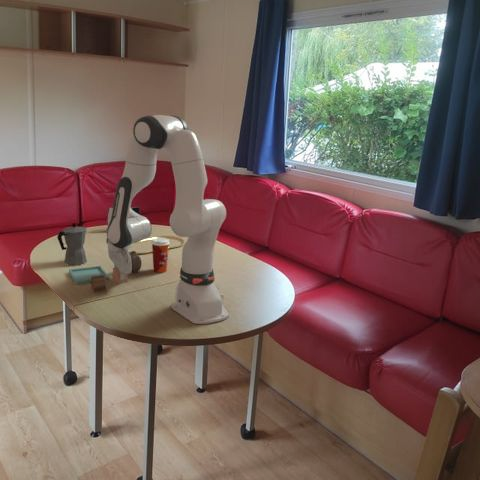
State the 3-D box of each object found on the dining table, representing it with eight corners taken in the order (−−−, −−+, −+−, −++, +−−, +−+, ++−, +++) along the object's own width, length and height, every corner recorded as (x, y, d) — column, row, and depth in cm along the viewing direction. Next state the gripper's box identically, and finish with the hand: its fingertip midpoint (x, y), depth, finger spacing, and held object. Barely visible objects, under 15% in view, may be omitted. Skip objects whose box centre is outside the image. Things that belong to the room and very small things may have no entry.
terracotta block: (127, 281, 194) (127, 270, 193) (116, 283, 192) (116, 271, 191) (123, 277, 198) (123, 266, 197) (113, 279, 196) (112, 267, 194)
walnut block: (106, 291, 185) (106, 279, 183) (94, 292, 183) (94, 280, 181) (103, 286, 188) (102, 274, 187) (91, 288, 186) (91, 276, 185)
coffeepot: (79, 256, 219) (78, 218, 214) (94, 260, 215) (93, 221, 209) (51, 265, 206) (49, 224, 201) (67, 270, 202) (65, 229, 196)
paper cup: (165, 274, 204) (166, 243, 200) (148, 272, 206) (148, 241, 201) (171, 268, 212) (172, 238, 207) (155, 266, 213) (155, 236, 209)
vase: (144, 269, 208) (144, 250, 205) (136, 275, 202) (136, 255, 199) (129, 267, 210) (129, 248, 207) (122, 272, 203) (121, 253, 201)
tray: (108, 279, 195) (108, 276, 194) (75, 284, 189) (75, 280, 188) (100, 269, 206) (100, 265, 205) (69, 272, 199) (69, 269, 199)
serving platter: (110, 247, 235) (110, 244, 234) (170, 236, 258) (170, 233, 257) (130, 258, 222) (130, 255, 221) (191, 245, 245) (191, 243, 244)
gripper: (135, 251, 184) (135, 284, 188) (120, 236, 200) (120, 267, 205) (119, 253, 181) (119, 287, 185) (105, 237, 197) (105, 268, 201)
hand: (120, 276), depth 195 cm, fingers closed on terracotta block, 4 cm apart
